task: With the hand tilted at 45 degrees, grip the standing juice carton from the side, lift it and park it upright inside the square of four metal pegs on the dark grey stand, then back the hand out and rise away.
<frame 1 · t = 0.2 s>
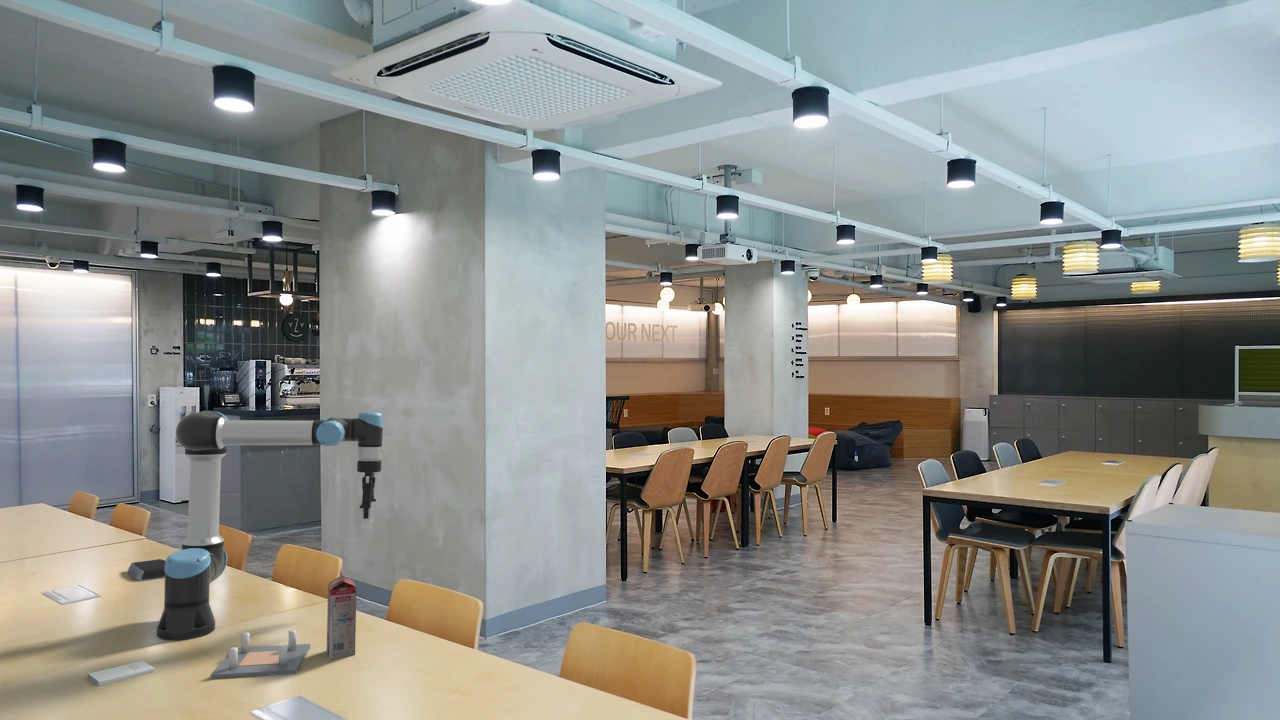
hand: (367, 525, 261), 28 cm above the table, fingers open, 13 cm apart
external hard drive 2: (121, 677, 205), on the table
juice carton: (340, 653, 223), on the table
peg stand: (263, 662, 215), on the table
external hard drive: (151, 575, 304), on the table
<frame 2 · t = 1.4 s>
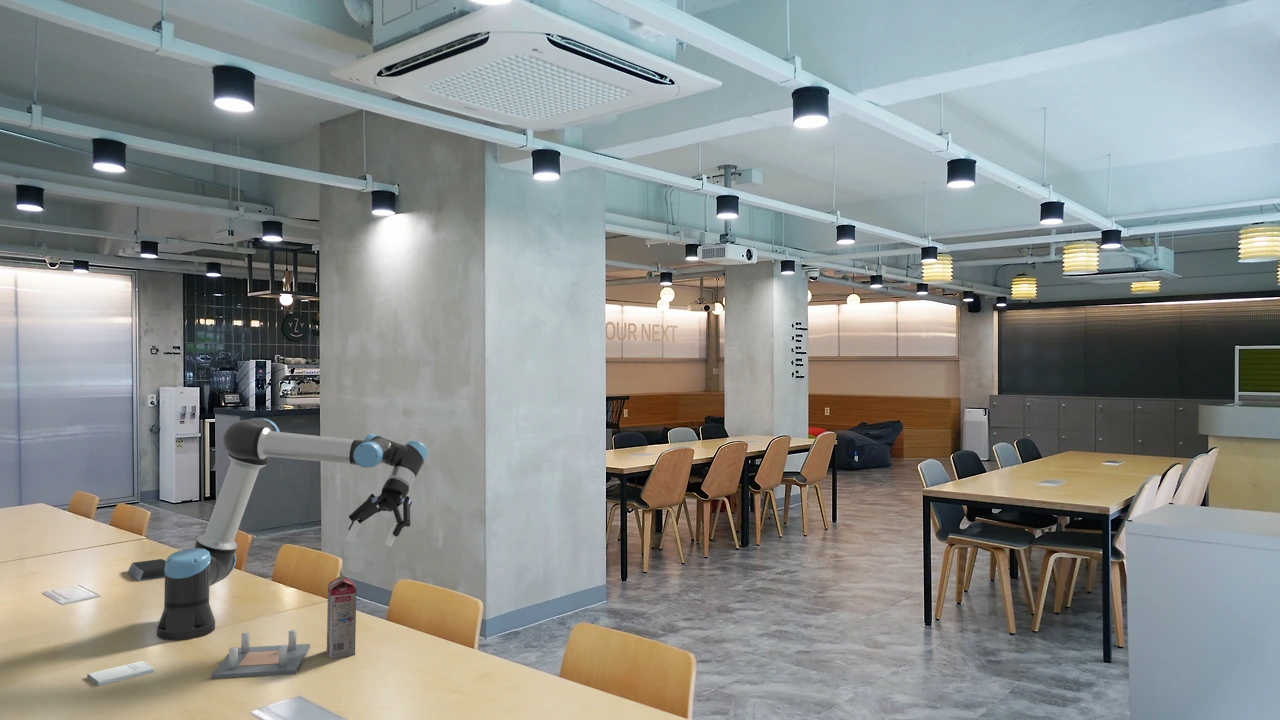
hand: (367, 543, 235), 28 cm above the table, fingers open, 13 cm apart
nothing on the table moved.
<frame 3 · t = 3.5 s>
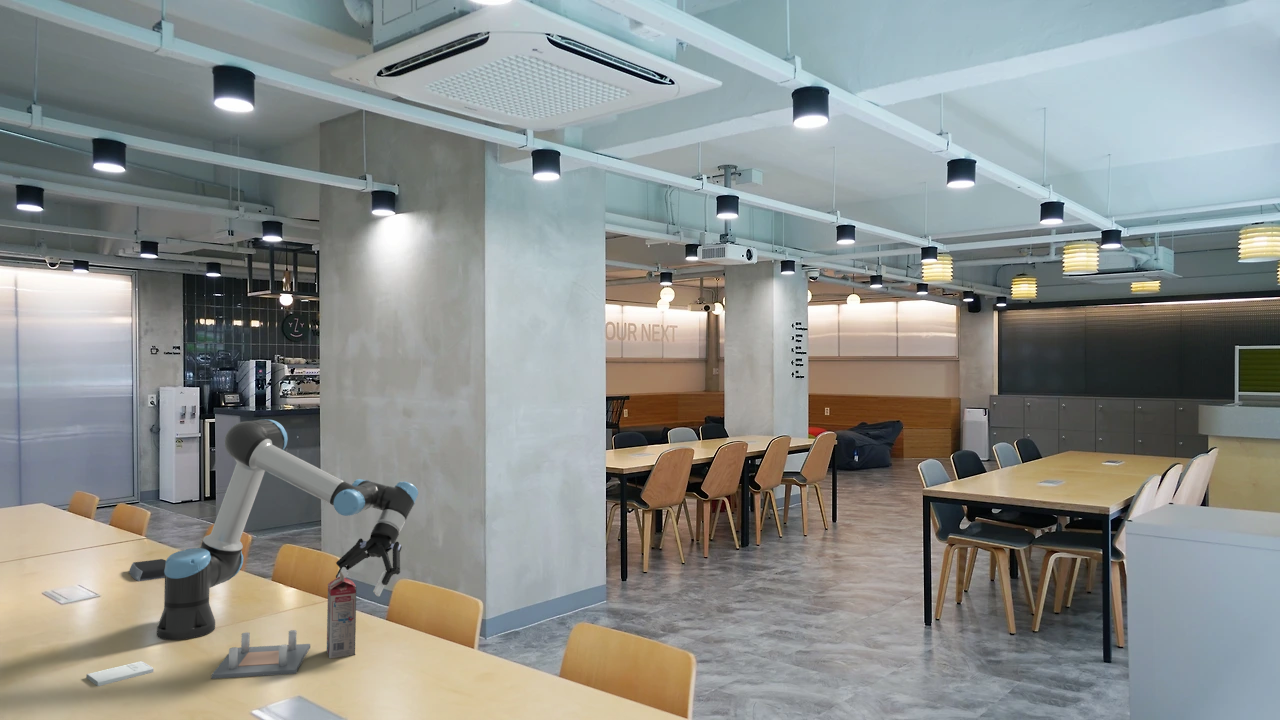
hand: (355, 591, 227), 16 cm above the table, fingers open, 13 cm apart
nothing on the table moved.
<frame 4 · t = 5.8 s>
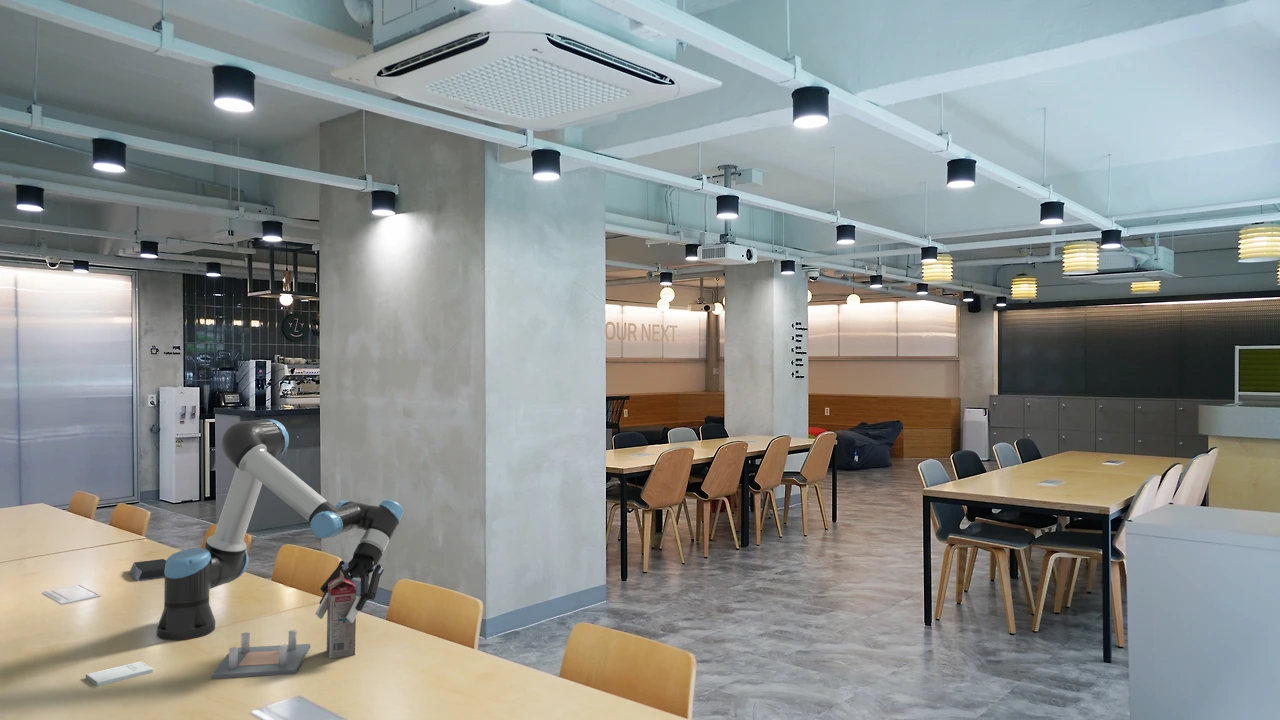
hand: (334, 618, 220), 10 cm above the table, fingers closed on juice carton, 9 cm apart
juice carton: (340, 653, 223), on the table, touching gripper
everything else where it was.
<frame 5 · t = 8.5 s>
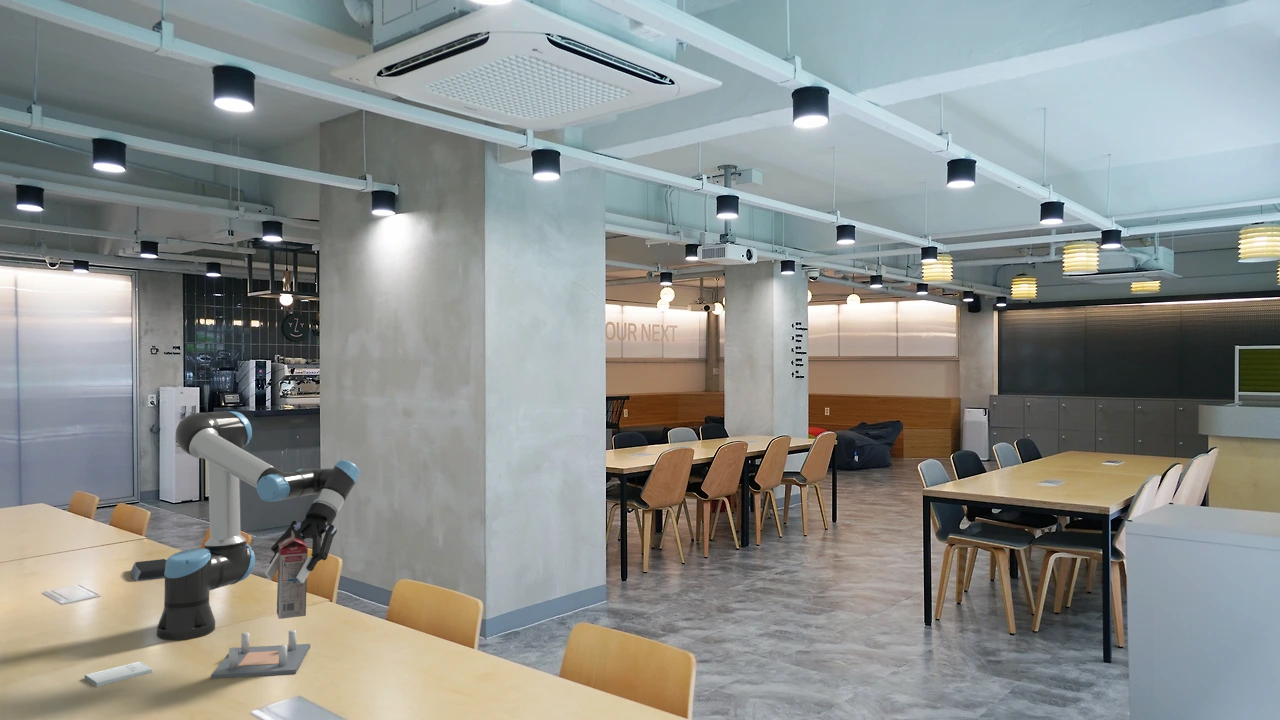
hand: (283, 578, 214), 23 cm above the table, fingers closed on juice carton, 9 cm apart
juice carton: (291, 614, 217), point 12 cm above the table, touching gripper
everything else where it was.
when the fingers open (13 cm above the table, at t = 11.4 s): juice carton drops 1 cm, resting on peg stand.
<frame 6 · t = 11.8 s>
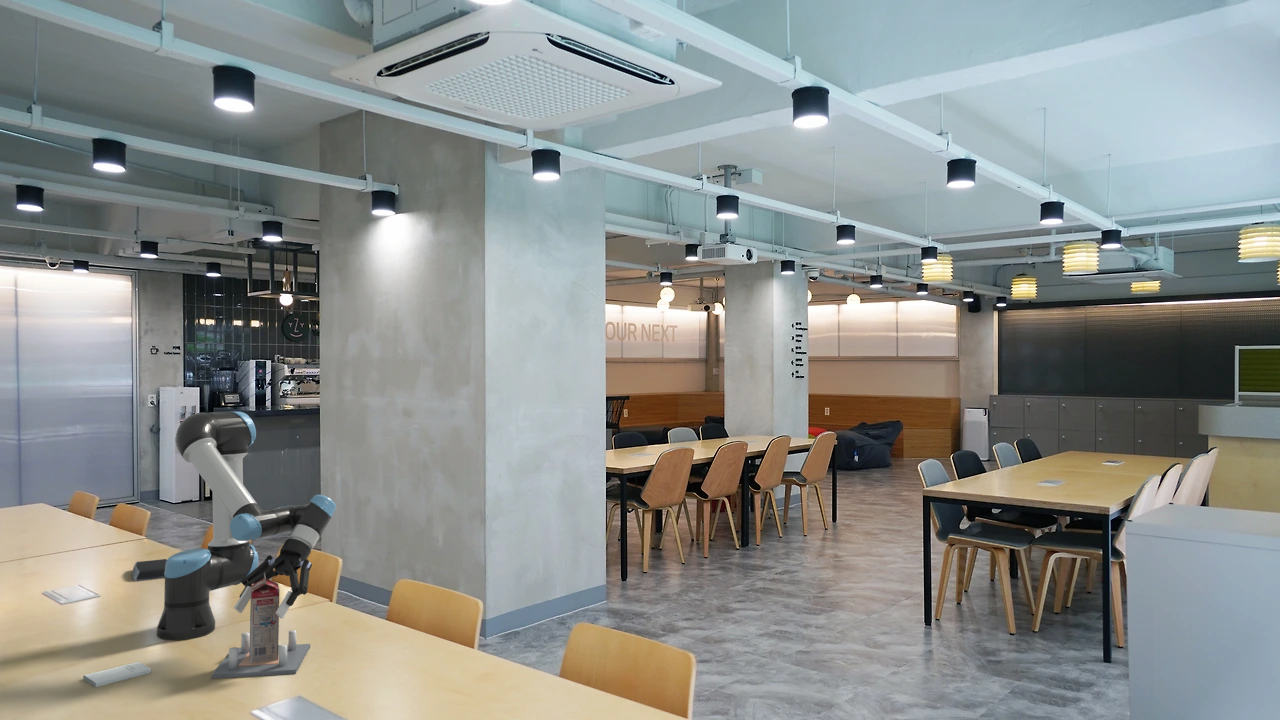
hand: (258, 613, 213), 14 cm above the table, fingers open, 13 cm apart
juice carton: (263, 658, 215), point 1 cm above the table, touching peg stand
everything else where it was.
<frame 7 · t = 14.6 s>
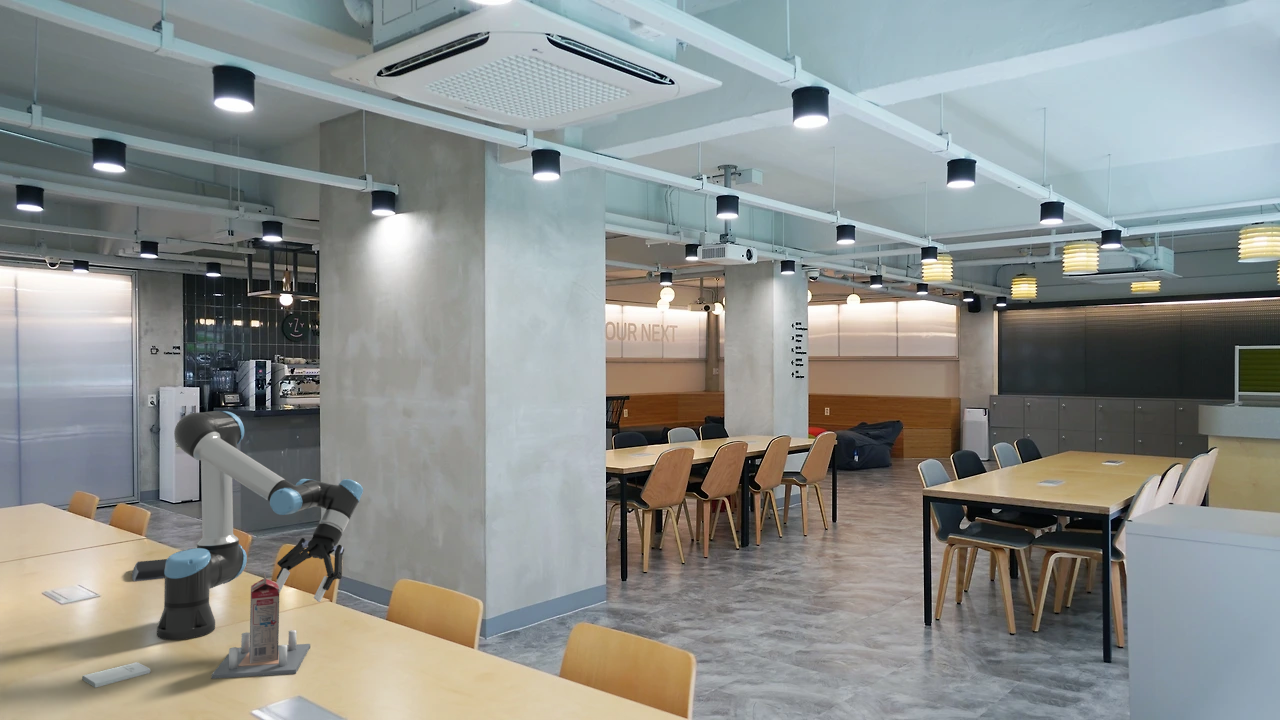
hand: (296, 595, 227), 14 cm above the table, fingers open, 13 cm apart
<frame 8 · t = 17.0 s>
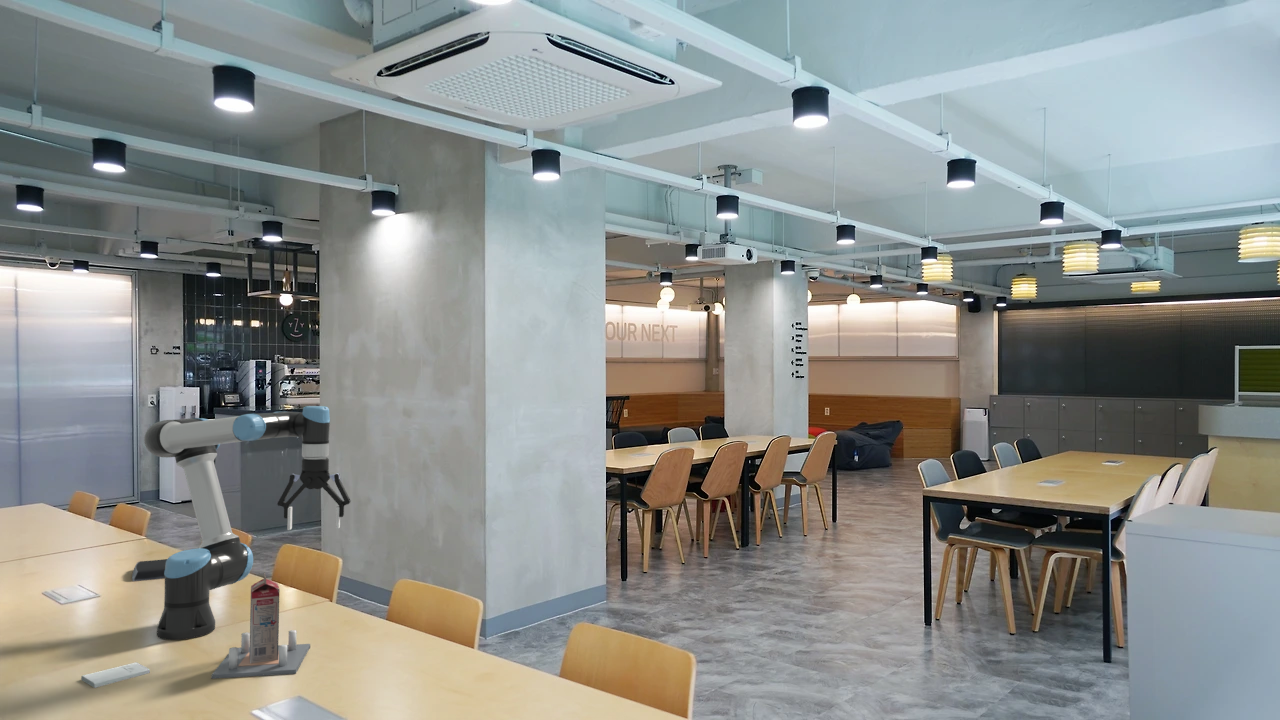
hand: (313, 528, 240), 31 cm above the table, fingers open, 13 cm apart
at the end: juice carton 0.1 cm off-centre on the peg stand, point 1.0 cm above the peg stand's base; juice carton tilted 0°; the gripper is holding nothing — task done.
